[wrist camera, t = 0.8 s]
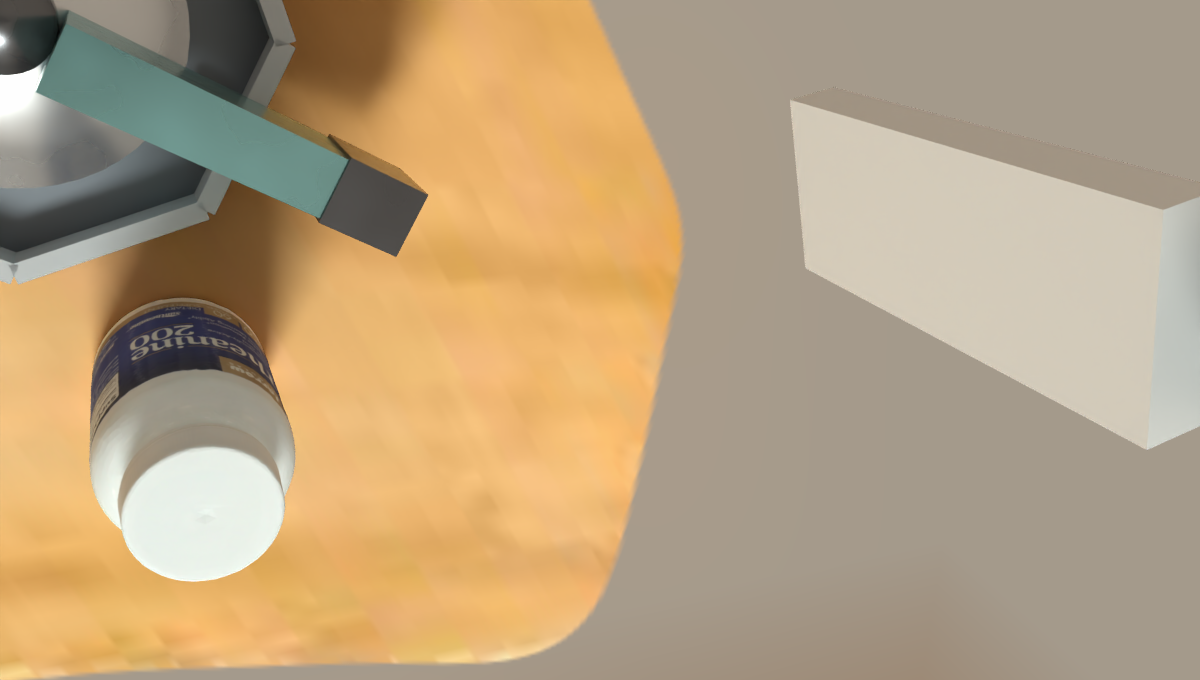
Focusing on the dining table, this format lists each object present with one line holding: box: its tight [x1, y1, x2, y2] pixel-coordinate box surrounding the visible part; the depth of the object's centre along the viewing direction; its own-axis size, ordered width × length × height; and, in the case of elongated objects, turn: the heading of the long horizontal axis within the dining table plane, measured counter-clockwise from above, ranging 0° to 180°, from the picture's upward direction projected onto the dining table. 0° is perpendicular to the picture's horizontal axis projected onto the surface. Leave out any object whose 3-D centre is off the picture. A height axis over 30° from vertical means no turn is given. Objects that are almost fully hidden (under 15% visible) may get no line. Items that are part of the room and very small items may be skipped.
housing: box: [0, 0, 296, 284], centre depth 29 cm, size 14×14×2 cm
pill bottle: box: [89, 298, 295, 581], centre depth 31 cm, size 5×5×10 cm
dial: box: [0, 0, 428, 257], centre depth 28 cm, size 16×9×5 cm, turn 57°
